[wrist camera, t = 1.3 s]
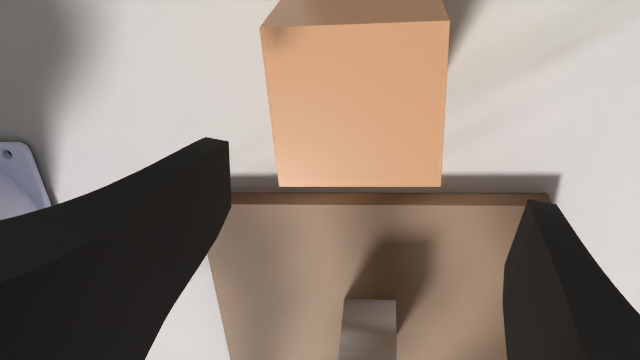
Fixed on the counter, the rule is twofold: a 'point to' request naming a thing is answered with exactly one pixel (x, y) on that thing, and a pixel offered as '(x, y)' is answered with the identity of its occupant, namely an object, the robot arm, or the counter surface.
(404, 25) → the tan rectangular block
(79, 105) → the counter surface
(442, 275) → the post board
